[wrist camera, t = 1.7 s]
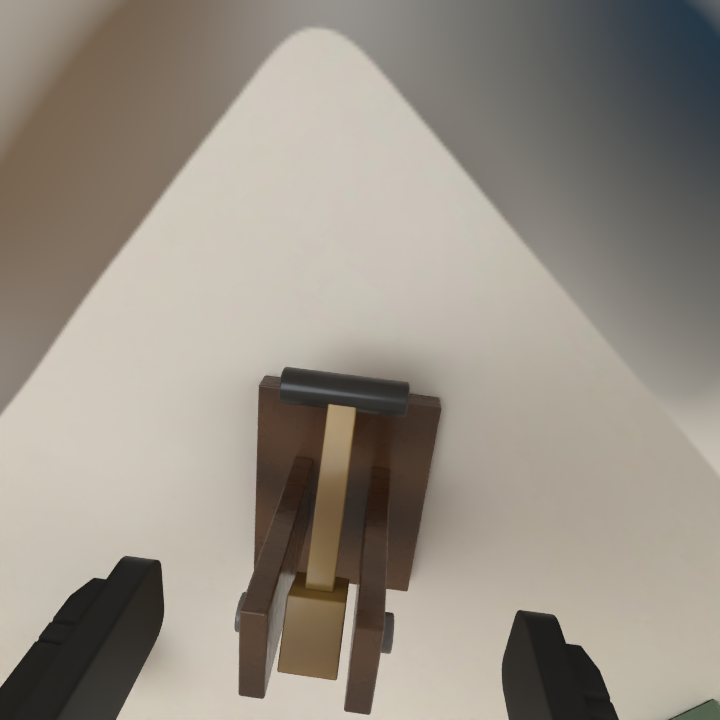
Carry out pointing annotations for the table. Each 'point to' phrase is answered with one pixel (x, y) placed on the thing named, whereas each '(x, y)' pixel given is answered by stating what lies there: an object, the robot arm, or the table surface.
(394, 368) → the table surface
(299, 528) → the switch bracket
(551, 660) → the robot arm
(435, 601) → the table surface
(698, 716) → the button block
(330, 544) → the switch lever
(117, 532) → the table surface
